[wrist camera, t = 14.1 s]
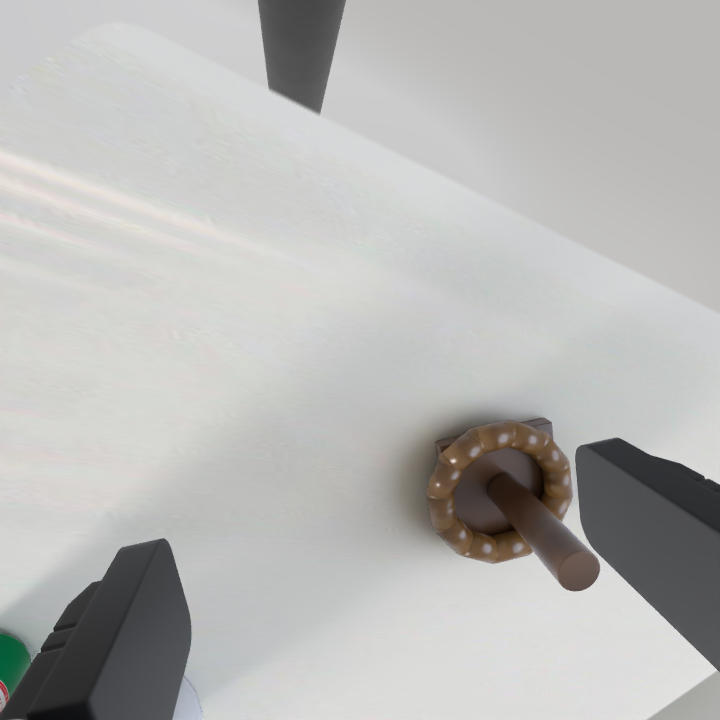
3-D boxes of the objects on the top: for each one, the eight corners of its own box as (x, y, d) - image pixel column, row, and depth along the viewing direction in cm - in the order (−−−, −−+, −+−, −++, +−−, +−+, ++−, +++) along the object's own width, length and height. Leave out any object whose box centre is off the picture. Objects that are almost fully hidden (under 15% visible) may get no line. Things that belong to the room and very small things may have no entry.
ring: (414, 436, 39) (421, 446, 37) (555, 404, 40) (569, 412, 38) (436, 567, 41) (444, 582, 39) (569, 533, 42) (582, 547, 40)
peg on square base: (435, 440, 40) (496, 519, 28) (544, 417, 41) (648, 483, 29) (450, 543, 42) (513, 656, 30) (554, 518, 43) (654, 619, 31)
